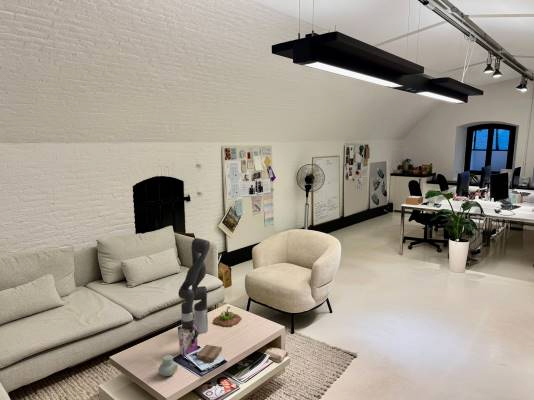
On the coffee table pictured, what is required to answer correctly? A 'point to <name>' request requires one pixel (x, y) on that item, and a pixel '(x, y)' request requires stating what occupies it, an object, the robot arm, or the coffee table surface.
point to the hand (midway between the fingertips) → (188, 342)
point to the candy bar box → (186, 341)
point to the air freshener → (168, 366)
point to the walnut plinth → (209, 353)
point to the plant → (227, 319)
